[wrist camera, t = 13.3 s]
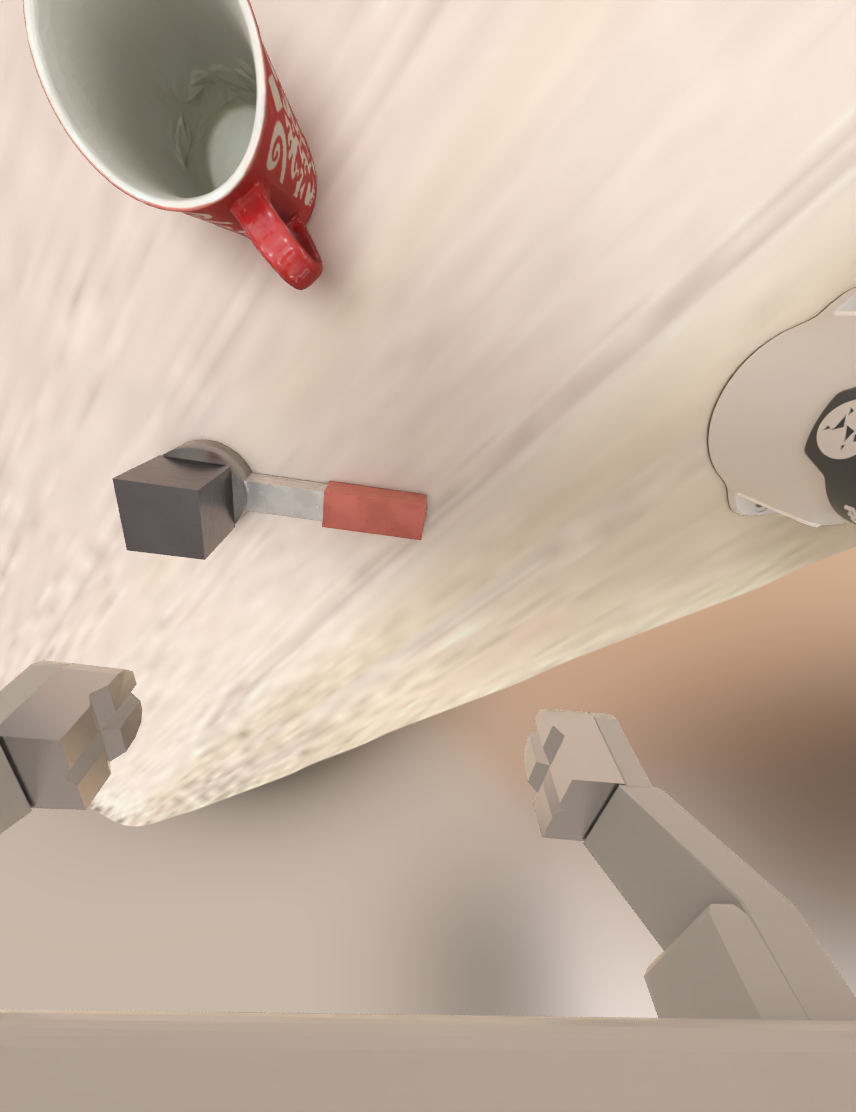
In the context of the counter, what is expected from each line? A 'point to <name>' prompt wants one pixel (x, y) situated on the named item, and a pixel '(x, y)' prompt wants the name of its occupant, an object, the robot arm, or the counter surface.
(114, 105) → the mug
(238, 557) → the counter surface
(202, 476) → the matte grey cube
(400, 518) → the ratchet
